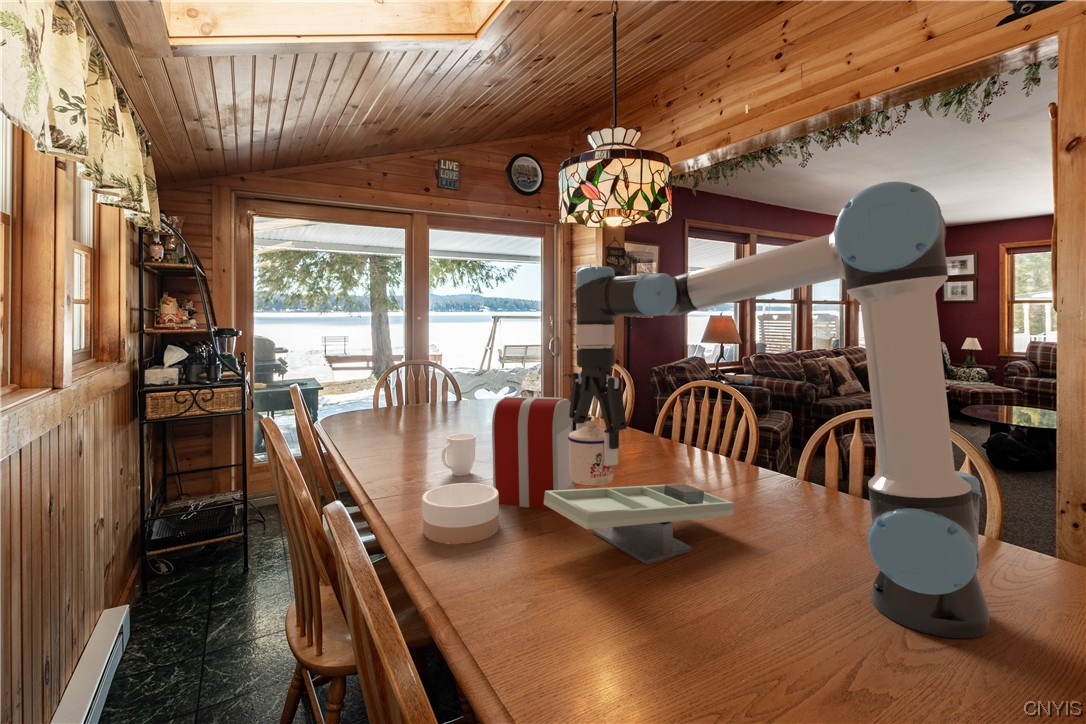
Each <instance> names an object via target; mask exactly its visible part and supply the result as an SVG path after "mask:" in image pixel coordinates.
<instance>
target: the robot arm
mask: <svg viewBox="0 0 1086 724" xmlns="http://www.w3.org/2000/svg"><path fill="white" fill-rule="evenodd" d="M946 234H947V227H946V222H945V218H944V216H943V214H942V210H941V207H940V204H939V202H938V201H937V199H936V198H935V196H934V195H932V193H931V192H930V191H927V190H926V189H925V188H923V187H921V186H920V185H919V186H918V185H915V184H913V183H910V182H905V181H885V182H881V183H878V184H877V183H876V184H873V185H871V186H869V187H866V188H865V189H863V190H861V191H859V192H858V193H857V194H855V195H854V196H853V197H851V198H850V200H848V201H847V202H846V204H845V205H844V206H843V207H842V208H841V210H840V212H839V214H838V216H837V218H836V221H835V224H834V229H833V231H832V232H831V233H829V234H826V235H822V236H819V237H815V238H810V239H808V240H803V241H799V242H797V243H793V244H789V245H785V246H782V247H778V248H774V249H771V250H767V251H763V252H760V253H756V254H752V255H748V256H746V257H742V258H737V259H733V260H731V261H727V262H723V263H719V264H716V265H712V266H708V267H705V268H701V269H697V270H694V271H691V272H688V273H683V274H682V273H681V274H679V275H675V276H671V275H669V274H668V273H664V272H662V273H661V272H660V273H658V272H656V273H654V272H647V273H643V274H631V275H623V276H622V275H621V276H620V275H619V276H616V275H615V269H614V268H613V267H610V266H584V267H581V268H579V269H577V272H576V277H575V279H576V281H575V289H574V292H575V293H574V294H575V308H576V322H575V323H576V325H575V330H576V331H575V340H576V341H575V343H576V345H577V346H579V347H577V349H576V366H577V367H579V368H581V370H580V372H573V373H572V374H571V376H572V377H571V379H572V386H571V396H570V412H569V417H570V418H572V420H573V423H575V431H576V430H578V429H580V428H581V427H583V426H586V422H587V421H590V419H589V414H590V410H591V406H592V404H593V400H594V398H595V399H596V400H598V405H599V407H600V410H601V414H602V418H603V420H604V424H605V428H606V429H604V430H605V431H604V465H605V466H611V465H613V466H614V465H615V466H616V465H619V447H620V432H621V431H623V430H627V428H628V424H627V419H626V412H625V411H626V410H625V405H624V404H625V403H624V398H623V391H622V389H623V388H622V385H623V379H622V377H621V376H620V377H619V376H618V377H617V376H616V377H615V376H612V372H611V371H612V370H611V368H612V367H614V366H615V364H616V355H615V354H616V352H615V350H616V349H615V348H614V347H612V346H614V345H615V343H616V342H615V320H616V319H615V318H616V317H621V316H622V317H624V316H625V317H626V316H627V317H630V316H631V317H632V316H633V317H635V316H636V317H637V316H638V317H639V316H641V317H642V316H647V317H658V316H672V317H679V316H684V315H687V314H690V313H691V312H695V311H698V310H703V309H707V308H711V307H716V306H721V305H725V304H731V303H735V302H738V301H744V300H747V299H753V298H757V297H762V296H765V295H770V294H771V295H772V294H775V293H778V292H779V293H781V292H784V291H789V290H793V289H799V288H803V287H805V286H806V287H807V286H812V285H816V284H821V283H825V282H829V281H834V280H839V279H840V280H844V281H845V288H846V293H847V294H848V295H849V296H850V297H852V298H853V299H855V300H856V301H858V303H860V309H861V310H860V311H861V319H862V328H863V338H864V346H865V348H864V349H865V355H866V365H867V366H866V367H867V374H868V383H869V390H870V392H869V393H870V401H871V412H872V418H873V419H872V420H873V426H874V436H875V437H874V438H875V446H876V448H875V449H876V455H877V457H876V458H877V464H878V472H877V473H876V474H875V475H874V476H873V477H871V479H870V480H868V481H867V483H868V484H867V486H868V495H869V505H870V513H871V515H870V516H871V524H870V526H869V528H868V533H867V544H868V550H869V554H870V557H871V558H872V560H873V563H875V565H876V566H877V568H878V572H877V574H876V576H875V578H874V581H873V583H872V587H871V601H872V604H873V606H874V607H875V608H876V609H877V610H878V611H879V613H882V614H883V615H884V616H886V617H887V618H889V619H890V620H892V621H894V622H896V623H898V624H900V625H902V626H905V627H907V628H909V629H911V630H916V631H918V632H921V633H924V634H928V635H933V636H937V637H941V638H942V637H943V638H951V639H975V638H980V637H982V636H984V635H986V634H987V633H988V632H989V630H990V621H991V619H990V609H989V607H988V606H989V605H988V603H987V601H986V598H985V595H984V592H983V589H982V587H981V583H980V580H979V577H978V574H977V572H978V571H977V570H978V569H979V565H980V552H979V527H980V525H979V524H980V504H981V503H980V501H981V498H982V496H983V495H982V492H981V482H980V481H979V479H978V478H977V477H976V476H975V475H972V474H969V473H966V472H962V471H958V470H956V469H955V461H954V451H953V444H952V434H951V424H950V417H949V416H950V415H949V407H948V405H949V404H948V397H947V388H946V387H947V386H946V379H945V369H944V362H943V361H944V360H943V352H942V342H941V335H940V333H941V332H940V324H939V316H938V307H937V299H936V297H937V296H936V293H937V291H938V290H939V289H940V288H941V287H942V286H943V284H945V282H947V280H948V279H949V276H948V275H949V274H948V266H947V256H946V248H945V239H946Z"/></svg>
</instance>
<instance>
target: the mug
mask: <svg viewBox="0 0 1086 724" xmlns="http://www.w3.org/2000/svg"><path fill="white" fill-rule="evenodd" d="M476 440H477V438H476V435H475V434H472V433H457V434H451V435H448V436H447V437H446V445H445V446H444V447H443V449H442V452H441V461H442V464H443V465H444V466H445V467H446V468H447V469H449V470H450V471H451V473H452V474H453V476H457V477H464V476H468V475H469V474H470V473H471V470H472V469H473V465H474V463H475V458H476V443H477V442H476Z"/></svg>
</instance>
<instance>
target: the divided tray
mask: <svg viewBox="0 0 1086 724" xmlns="http://www.w3.org/2000/svg"><path fill="white" fill-rule="evenodd" d="M675 484H676V483H673V484H672V483H671V484H668V485H675ZM665 485H666V484H655V485H653V484H652V485H649V484H648V485H636V486H635V485H634V486H633V485H630V486H616V487H615V486H612V487H611V486H610V487H596V488H594V487H593V488H574V489H571V490H551V491H545V496H544V505H546V506H548V507H549V508H551V509H550V510H552V509H553V511H555V512H556V513H558V514H560V515H562V516H563V517H565V518H566V519H568V520H570V521H572V522H573V523H575V524H576V525H578V526H579V527H582V528H584V529H585V530H595V529H599V528H608V527H619V526H629V525H640V524H650V523H661V522H680V521H689V520H690V521H691V520H700V519H710V518H711V519H712V518H721V517H733V516H734V505H735V502H733V501H730V500H727V499H725V498H721V497H720V496H716V495H714V494H711V493H708V492H705V491H704V497H703V504H690V505H689V504H687V503H684V502H682V501H679V500H677V499H674V498H672V497H669V496H667V495H664V489H665Z"/></svg>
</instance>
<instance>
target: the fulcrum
mask: <svg viewBox="0 0 1086 724" xmlns="http://www.w3.org/2000/svg"><path fill="white" fill-rule="evenodd" d="M673 526H674V524H673V521H671V522H661V523H650V524H640V525H629V526H619V527H608V528H598V529H592V534H594V535H595V536H597V537H598V538H600V539H602V540H603V541H605V542H607V543H609V544H610V545H612V546H613V547H615V548H618V549H619V550H621V551H623V553H626V554H627V555H630V556H631V557H632V558H634V559H636V560H638V561H640V562H641V563H643V564H644V565H646V566H647V565H650V564H653V563H657V562H659V561H663V560H667V559H670V558H672V557H676V556H680V555H683V554H685V553H689V552H693V546H691V545H689V544H687V543H685V542H683V541H681V540H679V539H677V538H675V537H674V532H673V531H674V527H673Z"/></svg>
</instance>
